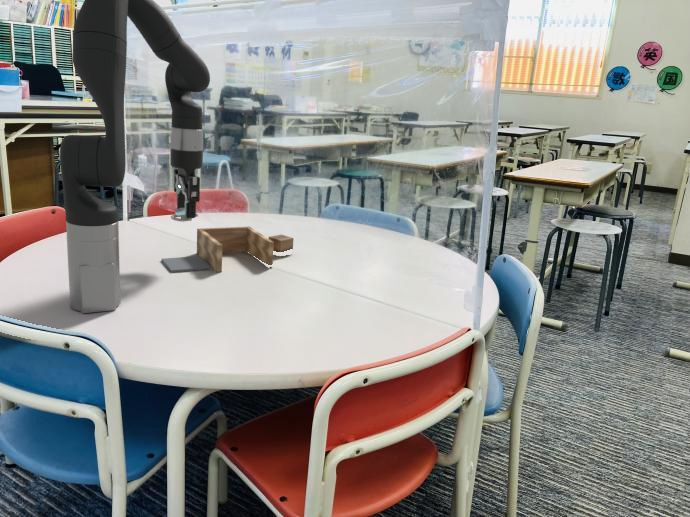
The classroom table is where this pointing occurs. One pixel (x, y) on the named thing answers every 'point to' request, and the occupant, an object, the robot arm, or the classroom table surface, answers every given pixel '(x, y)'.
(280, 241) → the walnut block
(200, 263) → the pad
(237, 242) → the cubby
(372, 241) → the classroom table surface
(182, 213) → the pacifier
